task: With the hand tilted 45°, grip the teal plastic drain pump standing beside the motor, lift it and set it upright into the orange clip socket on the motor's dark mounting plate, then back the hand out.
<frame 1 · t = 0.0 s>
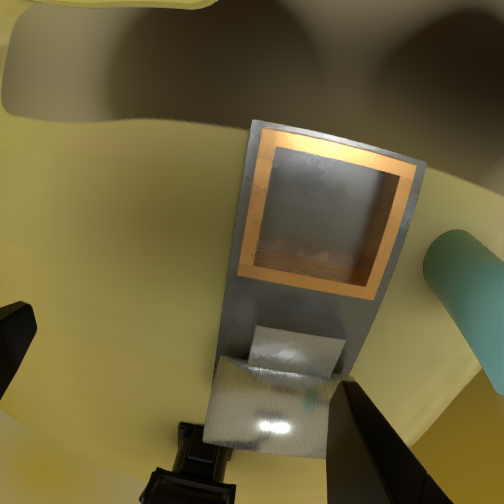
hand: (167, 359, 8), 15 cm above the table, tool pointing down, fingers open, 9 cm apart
drain pump: (451, 261, 21), on the table
motor assembly: (303, 312, 24), on the table
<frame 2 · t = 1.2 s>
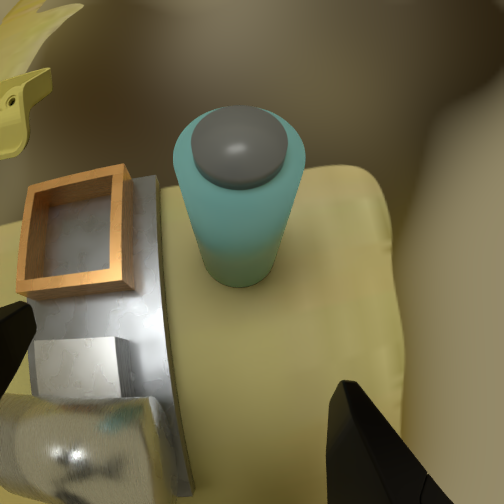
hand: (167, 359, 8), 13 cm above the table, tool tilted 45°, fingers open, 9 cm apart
drain pump: (238, 251, 23), on the table
motor assembly: (104, 358, 20), on the table
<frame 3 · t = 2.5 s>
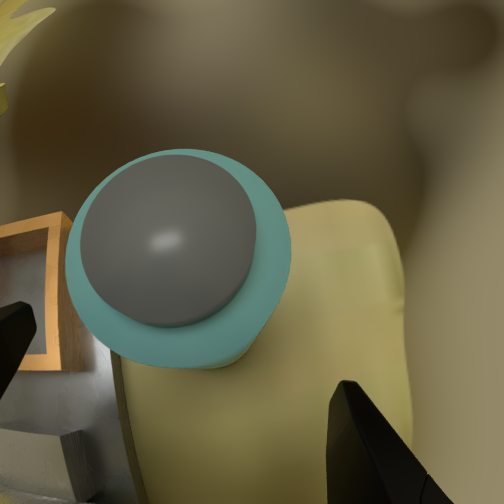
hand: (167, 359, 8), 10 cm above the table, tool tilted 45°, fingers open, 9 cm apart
drain pump: (209, 322, 18), on the table
motor assembly: (60, 439, 14), on the table
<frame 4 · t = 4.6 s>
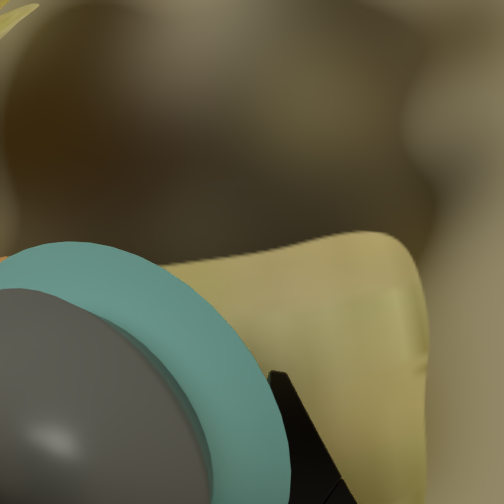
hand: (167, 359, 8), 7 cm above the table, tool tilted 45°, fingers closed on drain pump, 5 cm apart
drain pump: (191, 391, 13), on the table, touching gripper
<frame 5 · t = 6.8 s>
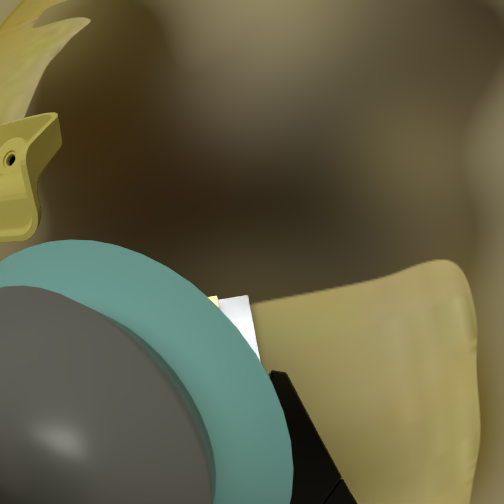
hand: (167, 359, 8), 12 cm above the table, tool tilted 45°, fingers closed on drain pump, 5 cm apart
drain pump: (192, 391, 13), point 6 cm above the table, touching gripper
motor assembly: (208, 496, 16), on the table
when the fingers open (9 cm above the table, at t = 8.6 s): drain pump stays where it is, resting on motor assembly.
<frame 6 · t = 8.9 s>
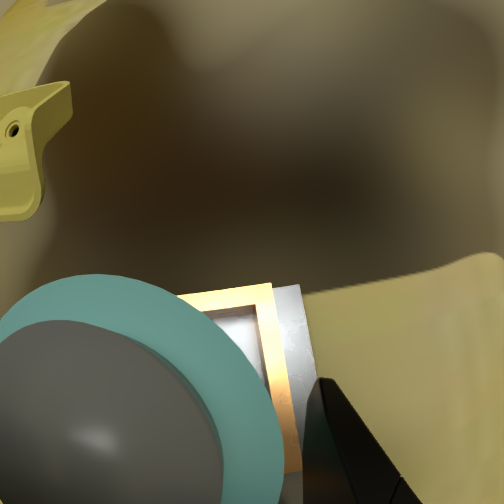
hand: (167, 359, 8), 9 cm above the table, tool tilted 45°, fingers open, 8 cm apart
drain pump: (194, 391, 14), point 2 cm above the table, touching motor assembly
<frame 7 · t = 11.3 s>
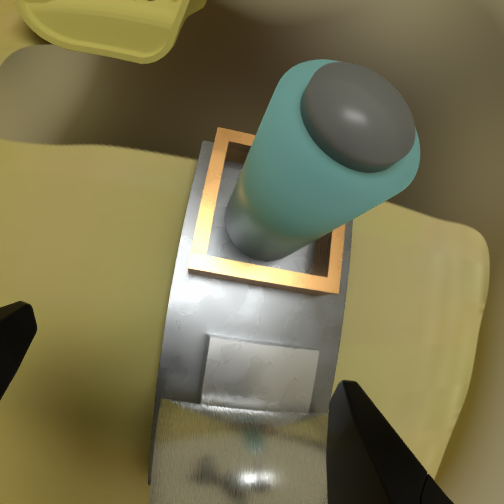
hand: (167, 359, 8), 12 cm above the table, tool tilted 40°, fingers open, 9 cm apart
drain pump: (266, 219, 20), point 2 cm above the table, touching motor assembly
motor assembly: (257, 354, 20), on the table
plastic component: (108, 15, 23), on the table
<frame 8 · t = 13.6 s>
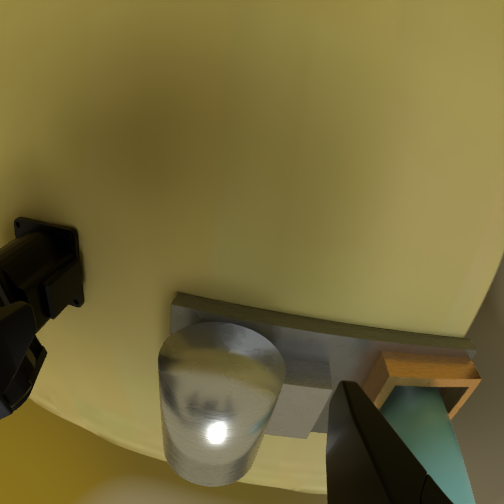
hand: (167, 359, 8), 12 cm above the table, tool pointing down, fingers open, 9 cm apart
drain pump: (405, 393, 22), point 2 cm above the table, touching motor assembly
motor assembly: (301, 379, 24), on the table
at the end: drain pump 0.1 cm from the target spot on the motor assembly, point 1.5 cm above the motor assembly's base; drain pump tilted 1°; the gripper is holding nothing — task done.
